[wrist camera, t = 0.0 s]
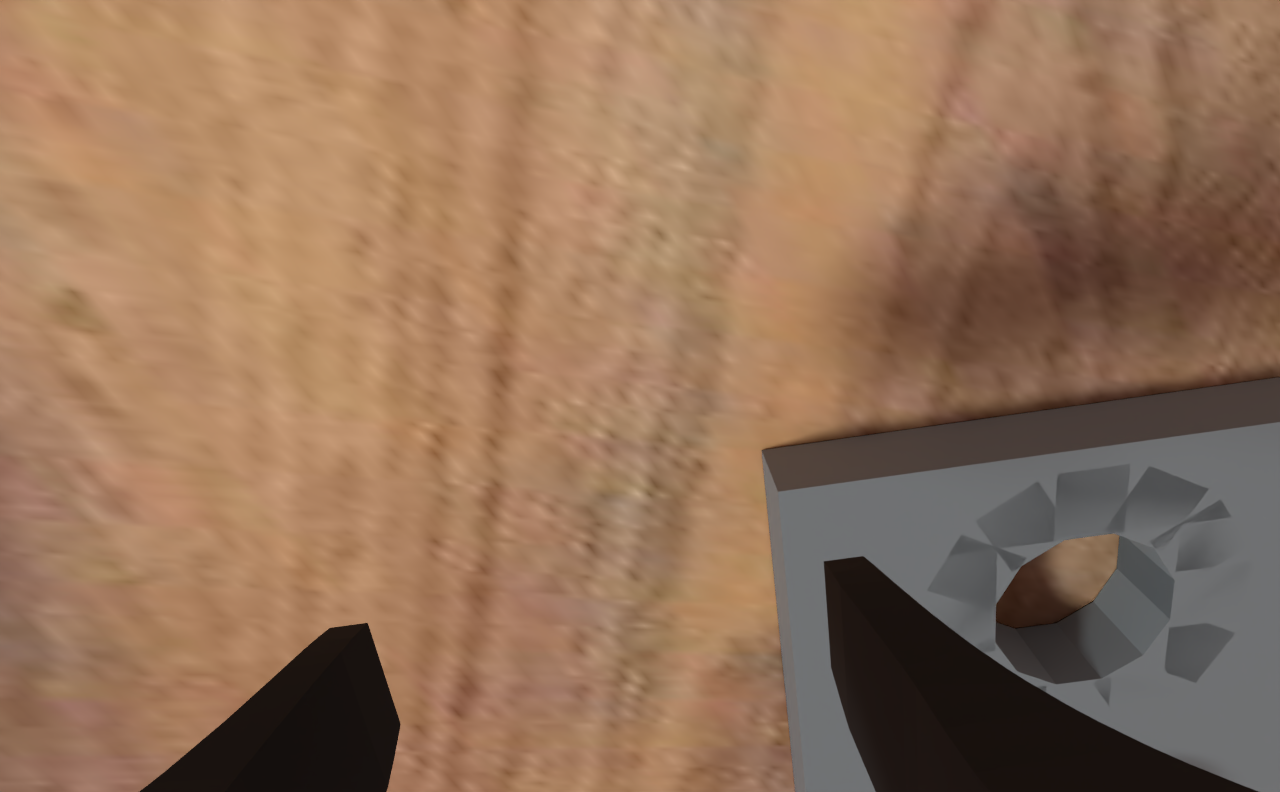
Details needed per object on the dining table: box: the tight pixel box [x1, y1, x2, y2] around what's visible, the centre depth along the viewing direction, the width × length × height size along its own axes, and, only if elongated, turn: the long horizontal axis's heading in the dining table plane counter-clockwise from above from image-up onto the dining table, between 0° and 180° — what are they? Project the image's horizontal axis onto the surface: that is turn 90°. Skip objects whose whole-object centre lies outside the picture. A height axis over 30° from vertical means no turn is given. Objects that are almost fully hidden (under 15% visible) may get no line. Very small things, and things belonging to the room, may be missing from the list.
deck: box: [762, 377, 1280, 792], centre depth 24 cm, size 20×16×2 cm
